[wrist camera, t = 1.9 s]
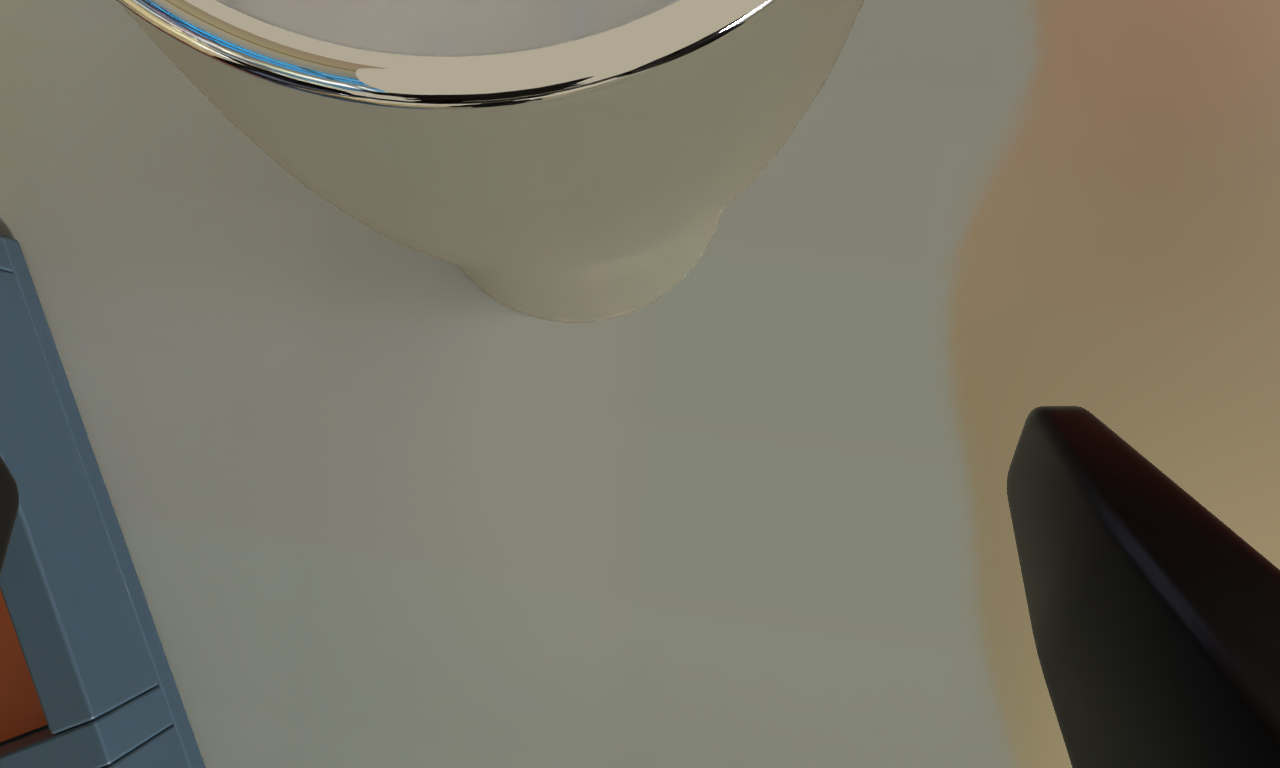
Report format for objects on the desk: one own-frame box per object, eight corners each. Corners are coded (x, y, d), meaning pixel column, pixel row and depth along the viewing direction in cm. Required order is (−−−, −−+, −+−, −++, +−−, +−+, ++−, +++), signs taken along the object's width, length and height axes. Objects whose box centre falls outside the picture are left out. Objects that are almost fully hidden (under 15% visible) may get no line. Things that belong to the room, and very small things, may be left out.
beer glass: (642, 408, 21) (670, 358, 6) (341, 239, 21) (-359, -222, 6) (809, 110, 21) (1229, -638, 6) (511, -56, 21) (239, -1174, 7)
